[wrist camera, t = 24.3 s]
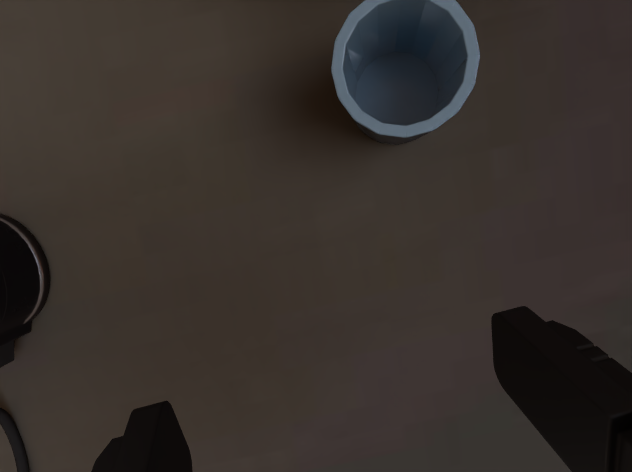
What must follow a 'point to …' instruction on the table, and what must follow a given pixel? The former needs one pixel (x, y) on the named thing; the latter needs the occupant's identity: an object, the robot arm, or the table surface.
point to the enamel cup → (404, 66)
